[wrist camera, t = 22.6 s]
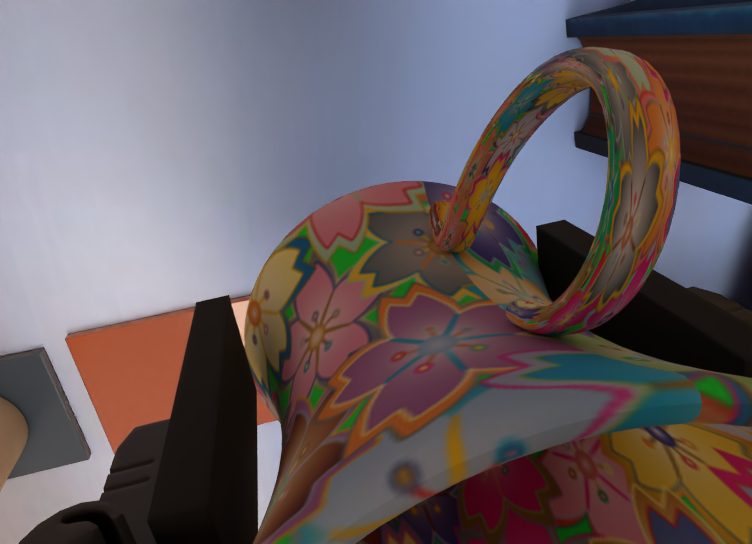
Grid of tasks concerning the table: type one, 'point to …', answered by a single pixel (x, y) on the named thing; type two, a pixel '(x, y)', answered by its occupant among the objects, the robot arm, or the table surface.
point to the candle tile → (41, 413)
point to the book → (687, 81)
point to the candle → (10, 438)
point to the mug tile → (140, 368)
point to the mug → (494, 356)
